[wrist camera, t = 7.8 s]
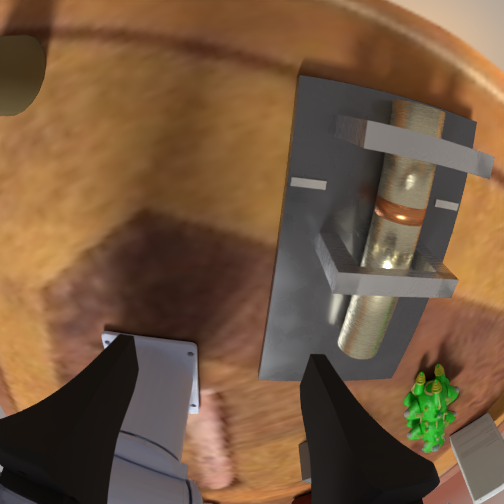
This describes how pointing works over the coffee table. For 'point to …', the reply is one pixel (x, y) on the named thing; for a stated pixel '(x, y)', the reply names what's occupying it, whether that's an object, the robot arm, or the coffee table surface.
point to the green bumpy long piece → (430, 409)
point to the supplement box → (480, 457)
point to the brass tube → (392, 228)
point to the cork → (20, 72)
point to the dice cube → (305, 462)
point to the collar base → (355, 227)
